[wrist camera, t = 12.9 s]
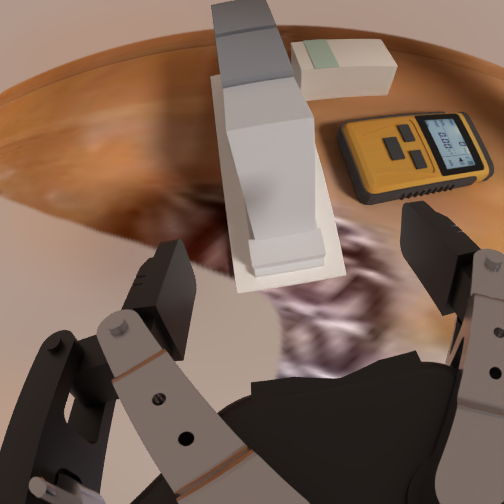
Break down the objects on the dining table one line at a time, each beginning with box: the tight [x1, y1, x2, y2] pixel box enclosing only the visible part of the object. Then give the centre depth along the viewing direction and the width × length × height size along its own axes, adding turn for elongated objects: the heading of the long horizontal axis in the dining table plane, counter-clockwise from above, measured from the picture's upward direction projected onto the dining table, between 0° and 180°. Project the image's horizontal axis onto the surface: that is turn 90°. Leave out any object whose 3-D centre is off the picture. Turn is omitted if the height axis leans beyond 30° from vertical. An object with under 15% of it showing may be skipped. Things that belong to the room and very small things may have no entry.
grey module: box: [223, 77, 315, 241], centre depth 20 cm, size 5×5×10 cm
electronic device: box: [337, 112, 494, 205], centre depth 26 cm, size 8×16×3 cm, turn 101°
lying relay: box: [291, 39, 398, 101], centre depth 27 cm, size 10×4×5 cm, turn 98°
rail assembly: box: [210, 0, 346, 294], centre depth 23 cm, size 9×24×12 cm, turn 8°
